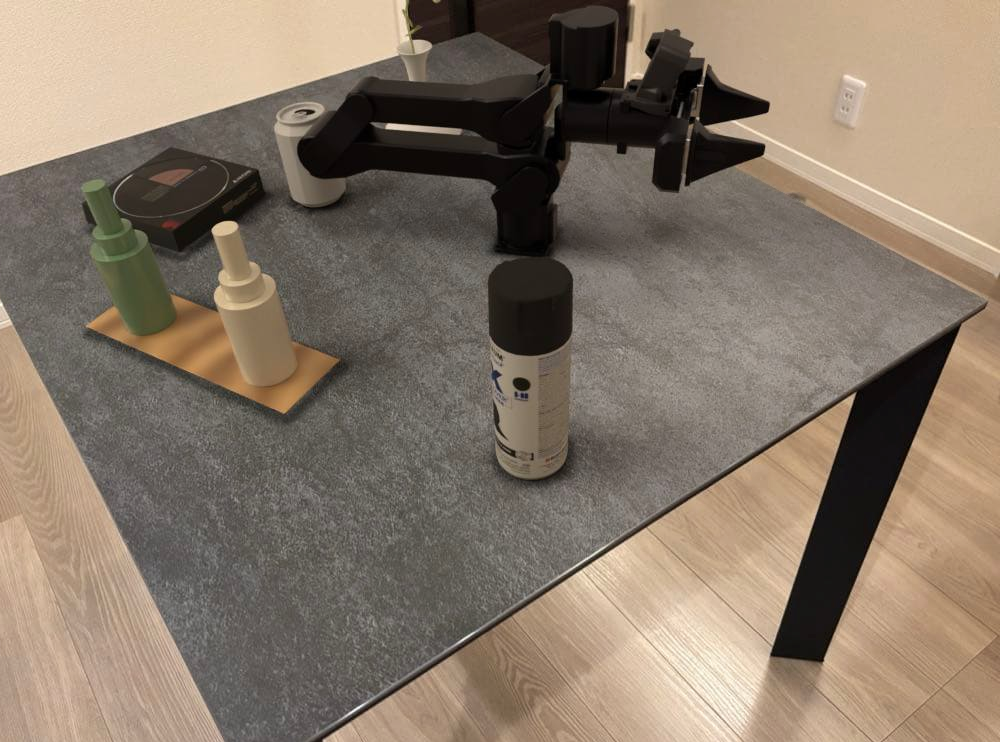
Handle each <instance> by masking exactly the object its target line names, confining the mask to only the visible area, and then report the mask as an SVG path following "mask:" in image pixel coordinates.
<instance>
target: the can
mask: <svg viewBox="0 0 1000 742" xmlns="http://www.w3.org/2000/svg"><path fill="white" fill-rule="evenodd" d="M325 112H326V108H325V106H324V105H323V104H321V103H319V102H313V101H301V102H296V103H293V104H290V105H287V106H285V107H283V108H281V109H280V110H279V111H278V112H277V113H276V117H275V118H276V120H277V121H276V122H275V124H274V128H273V130H274V135H275V138H276V142H277V146H278V150H279V154H280V157H281V162H282V165H283V170H284V173H285V176H286V181H287V185H288V189H289V193H290V196H291V199H292V200H293V201H294V202H296V203H299V204H300V205H302V206H304V207H309V208H321V207H325V206H328V205H332V204H333V203H336V202H337V201H338V200H339V199H341V197H342V195H343V194H344V192H345V191H346V190H347V184H346V178H337V179H318V178H315V177H313V176H311V175H310V174H309V172H308V171H307V170H306V169H305V168H304V167H303V165H302V164H301V162H300V160H299V158H298V155H297V145H298V142H299V141H300V139H301V138H302V137H303V136H304V135H305V134H306V133H307V131H308V130H309V129H310V128H311V127H312V126H313V125H314V124H315V122H316V121H317V120H318V119H319V118H320V117H321V116H322V115H323V114H324V113H325Z"/></svg>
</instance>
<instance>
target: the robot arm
mask: <svg viewBox="0 0 1000 742" xmlns="http://www.w3.org/2000/svg"><path fill="white" fill-rule="evenodd" d="M618 29H619V13H618V11H616V10H615V9H613V8H611V7H608V6H602V5H587V6H586V7H580V8H576V9H572V10H568V11H567V12H564V13H553V14H552V15H551V17H550V18H549V20H548V22H547V35H548V39H549V63H548V64H547V65H546V66H544V67H543V68H541V69H540V70H538V71H537V72H535V73H522V74H521V73H520V74H512V75H505V76H499V77H496V78H493V79H490V80H486V81H483V82H480V83H474V84H473V83H472V84H466V83H465V84H463V83H451V82H449V83H447V82H434V81H433V82H431V81H425V82H417V81H409V80H399V79H381V78H379V77H377V76H375V75H369V76H364V77H362V78H361V79H359V80H358V81H357V82H356V84H355V85H354V86H353V87H352V88H351V89H350V90H349V92H348V93H347V95H345V98H344V101H343V102H342V103H341V105H339V107H338V108H337V109H332V110H328V111H325V113H324V114H323V115H322V116H321V117H320V118H319V119H318V120H317V121H316V122H315V124H314V125H313V126H312V127H311V128H310V129H309V130H308V131H307V133H306V134H305V135H304V136H303V137H302V138H301V139H300V141H299V142H298V145H297V155H298V158H299V160H300V162H301V164H302V165H303V167H304V168H305V169H306V170H307V171H308V172H309V174H310V175H311V176H313V177H315V178H318V179H337V178H345V179H347V178H350V177H353V176H357V175H359V174H362V173H366V172H370V171H373V170H374V171H384V172H397V173H406V174H416V175H417V174H418V175H428V176H439V177H448V178H449V177H451V178H459V179H468V180H469V179H471V180H479V181H480V180H481V181H486V182H488V183H490V184H491V185H492V186H494V187H495V188H494V190H493V191H492V194H491V195H490V201H491V203H492V205H493V208H494V210H495V214H496V231H497V238H496V241H495V243H494V245H493V251H494V252H497V253H504V254H507V253H508V254H515V255H523V256H524V255H525V256H531V257H540V258H541V257H544V256H547V254H548V252H549V249H550V246H552V245H553V244H554V242H555V240H556V237H557V236H558V225H559V223H558V219H559V218H558V217H559V216H558V215H559V214H558V211H559V209H558V208H559V205H558V204H557V203H555V202H554V194H555V192H556V191H557V189H558V188H559V186H560V184H561V181H562V179H563V177H564V174H565V172H566V170H567V168H568V165H569V163H570V160H571V157H572V150H571V148H572V144H573V143H577V144H578V143H579V144H587V145H588V144H589V145H603V146H613V147H614V146H615V147H616V152H615V153H616V154H617V155H627V153H628V150H629V148H637V149H638V148H640V149H649V150H650V149H652V150H654V154H653V155H654V157H653V165H652V176H651V183H652V185H654V187H655V188H656V189H657V190H658V191H659V192H661V193H662V192H663V193H670V194H671V193H673V194H679V193H680V191H681V186H682V181H683V175H685V178H684V187H685V188H686V187H690V186H691V184H692V183H694V182H696V181H699V180H702V179H704V178H706V177H709V176H711V175H714V174H716V173H719V172H721V171H724V170H727V169H729V168H732V167H735V166H738V165H741V164H743V163H746V162H750V161H752V160H755V159H758V158H761V157H763V156H764V155H765V153H766V144H765V143H764V142H760V141H755V140H751V139H746V138H739V137H735V136H730V135H724V134H717V133H712V132H710V131H709V130H708V129H707V128H706V127H707V126H708V127H709V126H713V125H718V124H722V123H727V122H732V121H739V120H743V119H748V118H753V117H758V116H761V115H765V114H767V113H769V112H770V107H771V102H770V100H766V99H763V98H761V97H758V96H755V95H753V94H750V93H747V92H745V91H742V90H739V89H737V88H735V87H732V86H729V85H727V84H725V83H723V82H722V81H720V79H719V78H718V76H717V75H716V73H715V72H714V70H713V66H712V65H711V64H710V63H707V65H706V68H705V63H706V57H695V56H692V52H691V49H692V48H693V47H694V45H695V41H692V40H689V39H687V38H684V37H682V36H681V34H682V33H681V30H680V29H679V28H673V29H668V28H664V31H656V32H652V34H651V35H650V38H649V40H648V43H647V44H646V47H645V50H644V53H645V55H646V56H647V57H648V59H649V63H648V65H647V68H646V70H645V72H644V74H643V76H642V79H641V78H631V79H630V80H629V81H627V82H626V84H625V87H624V88H620V87H618V88H617V87H603V86H604V85H605V82H606V81H608V80H609V79H612V78H613V77H614V76H615V74H616V65H617V64H616V63H617V50H618V49H617V47H618V33H619V32H618ZM704 69H705V72H704ZM704 73H705V74H704ZM561 86H562V98H561V102H560V103H558V104H557V105H556V106H555V98H556V95H557V94H558V92H559V90H560V88H561ZM554 107H555V108H554ZM552 113H553V126H547V124H548V121H549V119H550V117H551V115H552ZM372 123H375V124H376V123H378V124H388V123H389V124H402V125H415V126H429V127H442V128H455V129H462V130H464V131H465V130H466V131H468V132H473V133H475V134H476V135H467V134H460V135H455V134H443V133H430V132H418V131H406V130H393V129H385V128H381V127H377V126H375V125H374V124H372ZM691 125H692V128H690V126H691Z"/></svg>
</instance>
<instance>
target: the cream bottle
mask: <svg viewBox="0 0 1000 742" xmlns="http://www.w3.org/2000/svg"><path fill="white" fill-rule="evenodd" d="M211 234H212V237H213V240H214V243H215V246H216V248H217V251H218V255H219V258H220V260H221V263H222V266H223V268H222V269H221V271H220V272H218V273H219V274H218V276H217V277H218V282H219V285H218V286H217V287H216V289H215V291H214V293H213V301H214V303H215V307H216V309H217V312H219V315H220V318H221V320H222V323H223V326H224V329H225V332H226V335H227V337H228V340H229V343H230V346H231V349H232V351H233V354H234V357H235V360H236V363H237V366H238V368H239V371H240V374H241V377H242V378H243V380H244V381H245V382H247V383H248V384H250V385H253V386H259V387H266V386H272V385H276V384H279V383H281V382H283V381H285V380H286V379H288V378H289V377H290V376H291V375H292V374H293V373H294V372H295V370H296V368H297V364H298V361H297V357H296V354H295V350H294V347H293V343H292V341H293V340H292V337H291V336H292V335H291V334H290V328H289V326H288V322H287V319H286V315H285V312H284V308H283V304H282V301H281V298H280V294H279V290H278V287H277V283H276V281H275V280H274V278H273V277H271V276H270V275H268V274H266V273H262V269H261V267H260V266H259V264H257V263H256V262H253V261H250V260H249V257H248V253H247V250H246V246H245V243H244V240H243V237H242V233H241V230H240V226H239V224H238V223H237V222H236V221H234V220H233V221H225V222H221V223H218V224H217V225H215V226H214V227H213V228H212V229H211Z"/></svg>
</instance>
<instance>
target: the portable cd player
mask: <svg viewBox="0 0 1000 742" xmlns="http://www.w3.org/2000/svg"><path fill="white" fill-rule="evenodd" d="M107 187H108V189H109V192H110V194H111V196H112V199H113V201H114V204H115V206H116V208H117V211H118V213H119V216H120V218H124V219H127V220H129V221H130V222H131V224H132V226H133V229H135V230H139V231H142V232H144V233H145V234H146V235H147V237H148V240H149V242H150V244H153V245H155V246H159V247H161V248H165V249H168V250H170V251H174V252H177V253H181V252H183V251H184V250H185V249H187V248H188V247H189V246H190V245H192V244H193V243H194V242H196V241H197V240H199V239H200V238H202V236H204V235H206V234H207V233H208V232H209V231H212V228H213V227H214V226H215V225H217V224H218V223H221V222H225V221H233V222H234V220H236V219H237V218H238V217H239V216H241V215H242V214H243V213H245V212H246V211H247V210H249V209H250V208H252V207H253V206H254V205H255V204H256V203H258V202H259V201H261V200H262V199H263V198H264V197H266V192H265V188H264V184H263V180H262V177H261V173H260V170H259V168H255V167H252V166H247V165H243V164H240V163H237V162H236V163H235V162H232V161H228V160H224V159H220V158H217V157H213V156H209V155H204V154H201V153H198V152H193V151H189V150H185V149H181V148H178V147H174V146H170V147H168V148H166V149H164V150H163V151H161V152H160V153H158V154H157V155H155V156H153V157H152V158H150V159H148V161H146V162H144V163H142V164H141V165H139V166H138V167H136V168H135V169H133V170H131V171H130V172H129V173H127V174H125V175H124V176H122V177H121V178H119V179H117V180H116V181H115V182H113V183H111V184H109V185H107ZM81 207H82V209H83V213H84V216H85V221H86V222H87V223H88V224H90V225H91V224H92V225H93V226H97V224H96V221H95V219H94V217H93V215H92V212H91V210H90V208H89V206H88V203H87V201H86V200H84V201H83V202H81Z"/></svg>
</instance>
